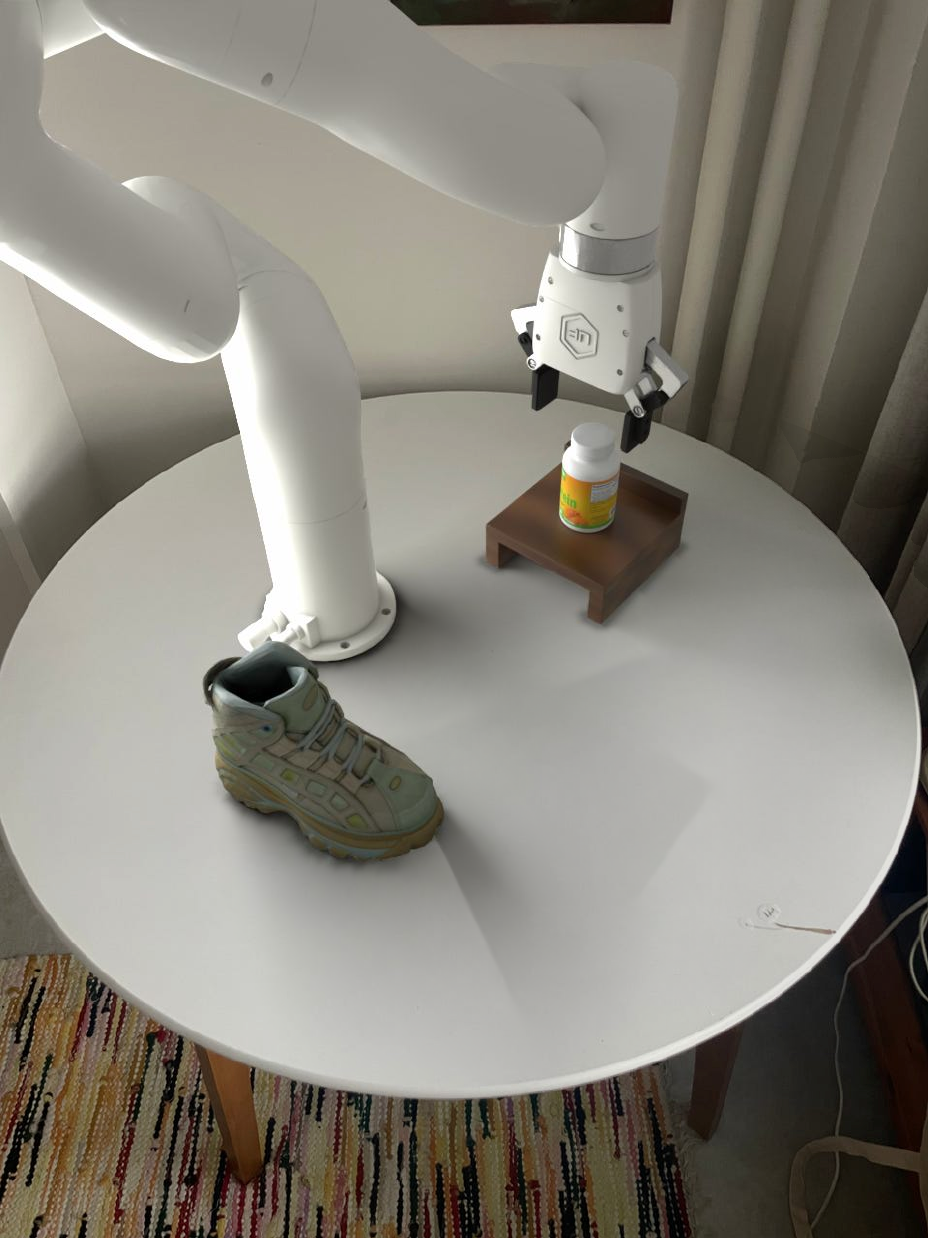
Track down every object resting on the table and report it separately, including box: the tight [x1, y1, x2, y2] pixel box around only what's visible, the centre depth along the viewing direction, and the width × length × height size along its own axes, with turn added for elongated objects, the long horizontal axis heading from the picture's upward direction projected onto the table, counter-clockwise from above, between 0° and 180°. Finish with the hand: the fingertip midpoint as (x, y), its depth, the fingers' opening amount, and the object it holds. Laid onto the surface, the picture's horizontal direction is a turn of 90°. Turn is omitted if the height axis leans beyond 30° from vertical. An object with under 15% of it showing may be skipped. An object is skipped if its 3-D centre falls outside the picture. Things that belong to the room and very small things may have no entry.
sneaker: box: [201, 639, 445, 862], centre depth 79 cm, size 11×19×15 cm, turn 53°
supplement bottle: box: [559, 421, 621, 533], centre depth 97 cm, size 5×5×10 cm
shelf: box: [485, 439, 689, 625], centre depth 101 cm, size 14×14×7 cm
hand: (587, 424), depth 92 cm, fingers open, 9 cm apart
